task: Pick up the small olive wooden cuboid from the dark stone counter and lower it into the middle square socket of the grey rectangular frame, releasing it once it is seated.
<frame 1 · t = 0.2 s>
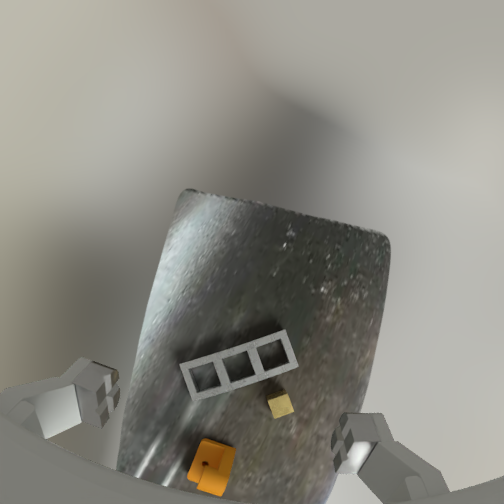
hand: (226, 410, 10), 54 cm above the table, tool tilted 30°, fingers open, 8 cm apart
grey rectangular frame: (239, 365, 61), on the table
bracket: (211, 461, 55), on the table
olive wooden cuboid: (278, 401, 59), on the table
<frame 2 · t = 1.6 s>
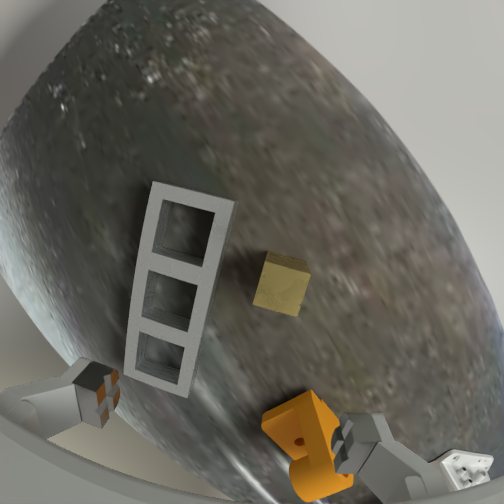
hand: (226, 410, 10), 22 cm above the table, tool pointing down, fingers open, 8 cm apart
grey rectangular frame: (177, 292, 33), on the table
bracket: (307, 423, 35), on the table
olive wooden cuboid: (281, 275, 31), on the table
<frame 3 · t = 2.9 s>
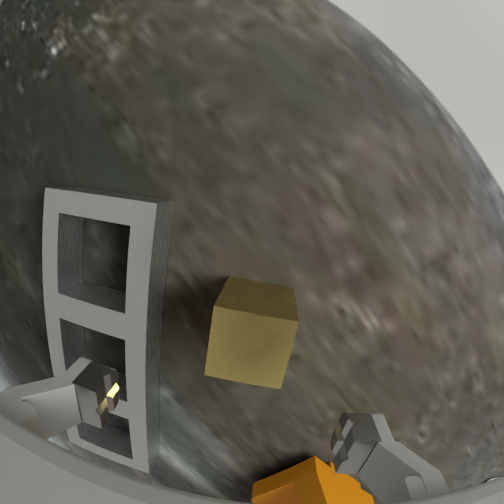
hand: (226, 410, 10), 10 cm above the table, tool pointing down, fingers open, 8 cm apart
grey rectangular frame: (111, 342, 21), on the table
bracket: (313, 486, 23), on the table
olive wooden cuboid: (255, 311, 20), on the table
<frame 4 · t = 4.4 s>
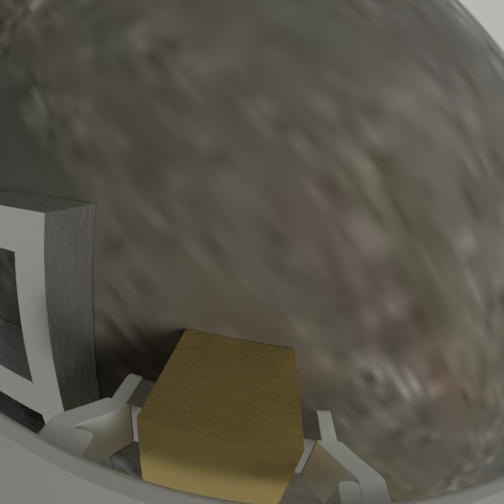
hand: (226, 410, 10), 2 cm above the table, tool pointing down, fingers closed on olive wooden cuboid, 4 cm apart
grey rectangular frame: (44, 398, 13), on the table
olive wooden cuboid: (232, 382, 11), on the table, touching gripper
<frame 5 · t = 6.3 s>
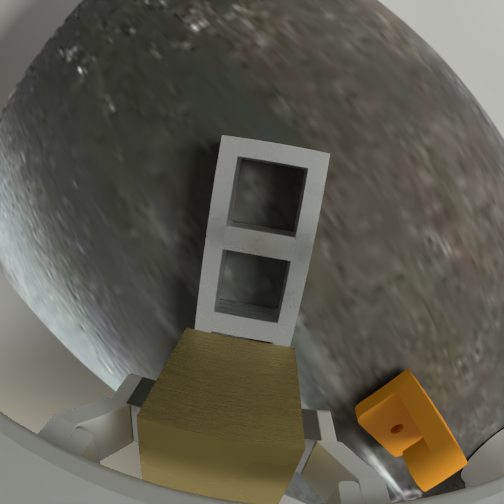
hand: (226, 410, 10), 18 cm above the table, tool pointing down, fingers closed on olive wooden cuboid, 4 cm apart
grey rectangular frame: (253, 276, 27), on the table
bracket: (398, 408, 30), on the table
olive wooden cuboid: (232, 381, 11), point 16 cm above the table, touching gripper
when the fingers open (4 cm above the table, at t = 8.4 s): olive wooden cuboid drops 2 cm, resting in grey rectangular frame.
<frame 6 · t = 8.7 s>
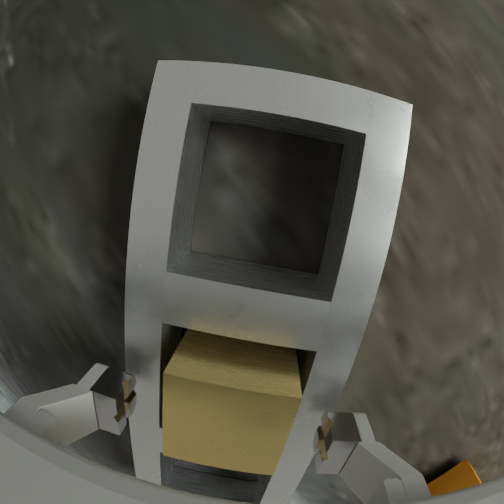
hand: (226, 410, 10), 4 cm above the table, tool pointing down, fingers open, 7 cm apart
grey rectangular frame: (236, 356, 13), on the table
bracket: (438, 493, 16), on the table
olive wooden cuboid: (238, 355, 13), resting in grey rectangular frame
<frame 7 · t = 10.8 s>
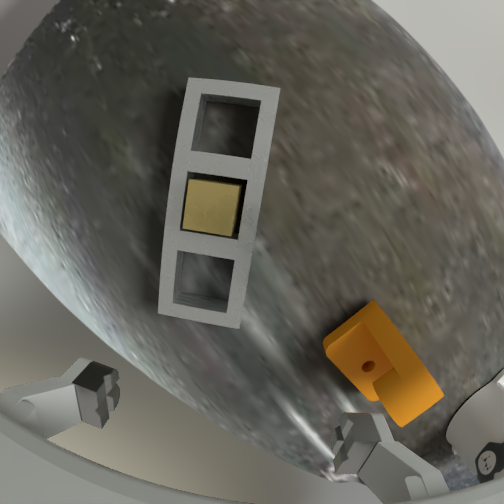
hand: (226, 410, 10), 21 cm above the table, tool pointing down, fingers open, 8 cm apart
grey rectangular frame: (217, 202, 29), on the table
bracket: (369, 347, 33), on the table
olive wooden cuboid: (218, 202, 29), resting in grey rectangular frame
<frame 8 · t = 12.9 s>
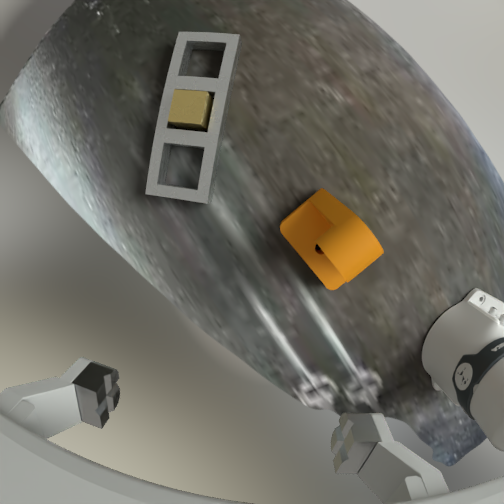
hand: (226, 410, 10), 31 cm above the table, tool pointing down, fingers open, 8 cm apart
grey rectangular frame: (196, 114, 37), on the table
bracket: (324, 238, 40), on the table
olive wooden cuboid: (197, 114, 37), resting in grey rectangular frame
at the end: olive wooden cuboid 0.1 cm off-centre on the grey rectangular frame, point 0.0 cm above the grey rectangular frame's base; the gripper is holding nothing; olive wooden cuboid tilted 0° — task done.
